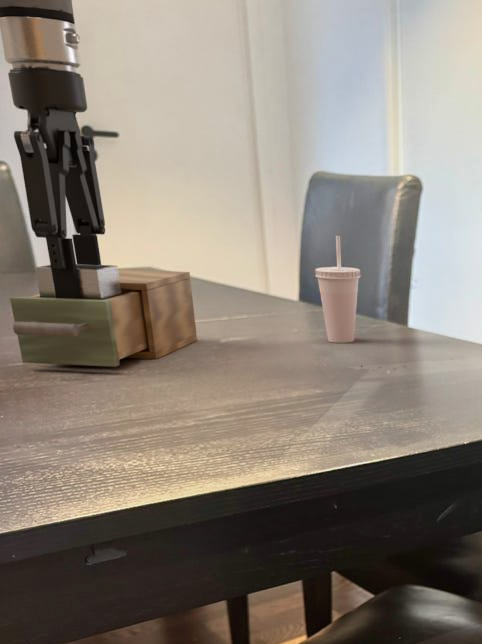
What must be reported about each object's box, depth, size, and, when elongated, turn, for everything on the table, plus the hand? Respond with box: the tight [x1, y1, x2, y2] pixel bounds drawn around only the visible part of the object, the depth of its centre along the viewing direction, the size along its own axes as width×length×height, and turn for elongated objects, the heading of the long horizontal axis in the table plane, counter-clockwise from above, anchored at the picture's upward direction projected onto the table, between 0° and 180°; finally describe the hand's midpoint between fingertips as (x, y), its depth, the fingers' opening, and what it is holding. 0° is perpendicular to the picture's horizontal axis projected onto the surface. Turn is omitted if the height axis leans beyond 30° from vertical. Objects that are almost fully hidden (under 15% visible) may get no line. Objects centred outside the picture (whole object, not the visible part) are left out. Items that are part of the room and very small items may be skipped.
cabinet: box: [118, 268, 198, 360], centre depth 121 cm, size 15×13×9 cm
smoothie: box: [314, 235, 362, 344], centre depth 129 cm, size 6×6×14 cm
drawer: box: [9, 289, 149, 368], centre depth 110 cm, size 18×11×7 cm, turn 175°
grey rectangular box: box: [34, 263, 122, 300], centre depth 109 cm, size 8×6×4 cm
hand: (81, 295), depth 110 cm, fingers closed on grey rectangular box, 5 cm apart
